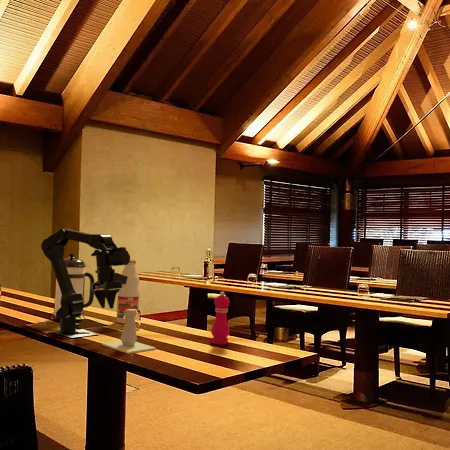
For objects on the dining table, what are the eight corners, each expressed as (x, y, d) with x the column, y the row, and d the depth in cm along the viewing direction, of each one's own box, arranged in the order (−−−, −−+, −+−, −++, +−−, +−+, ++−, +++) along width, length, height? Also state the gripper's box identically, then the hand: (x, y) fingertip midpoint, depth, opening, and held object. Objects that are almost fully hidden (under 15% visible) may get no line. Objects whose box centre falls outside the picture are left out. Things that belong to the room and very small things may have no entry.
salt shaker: (120, 343, 197) (121, 307, 197) (135, 343, 198) (137, 308, 198) (120, 347, 191) (122, 310, 191) (137, 347, 193) (139, 310, 193)
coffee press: (82, 324, 234) (86, 254, 234) (45, 321, 234) (49, 252, 234) (92, 317, 251) (96, 252, 251) (58, 315, 251) (62, 251, 252)
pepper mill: (232, 342, 212) (234, 291, 212) (224, 345, 205) (227, 293, 205) (215, 340, 215) (218, 289, 215) (207, 343, 208) (210, 291, 208)
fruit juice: (135, 320, 249) (139, 259, 249) (138, 324, 240) (142, 261, 240) (115, 320, 246) (118, 259, 246) (117, 324, 237) (120, 260, 237)
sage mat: (102, 344, 196) (102, 343, 196) (129, 341, 204) (129, 339, 204) (128, 353, 185) (128, 352, 185) (155, 349, 193) (155, 347, 193)
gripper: (133, 264, 202) (136, 306, 201) (115, 266, 218) (118, 305, 217) (105, 266, 196) (108, 309, 195) (88, 268, 212) (91, 308, 211)
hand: (107, 308), depth 205 cm, fingers open, 9 cm apart
